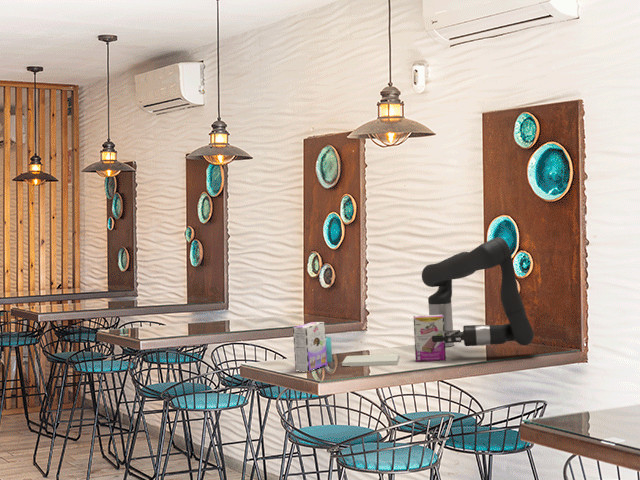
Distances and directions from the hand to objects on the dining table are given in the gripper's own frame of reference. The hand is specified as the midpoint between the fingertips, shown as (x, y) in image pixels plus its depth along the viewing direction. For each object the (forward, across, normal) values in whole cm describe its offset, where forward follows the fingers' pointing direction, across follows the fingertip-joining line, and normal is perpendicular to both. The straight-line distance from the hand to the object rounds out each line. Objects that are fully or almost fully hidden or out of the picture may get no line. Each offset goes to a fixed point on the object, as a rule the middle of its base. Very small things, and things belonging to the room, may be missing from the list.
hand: (432, 337), depth 303 cm
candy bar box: (+1, 0, -9) cm, 9 cm away
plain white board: (+23, 0, -8) cm, 24 cm away
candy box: (+44, -9, -9) cm, 46 cm away
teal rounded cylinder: (+42, +6, -8) cm, 43 cm away
